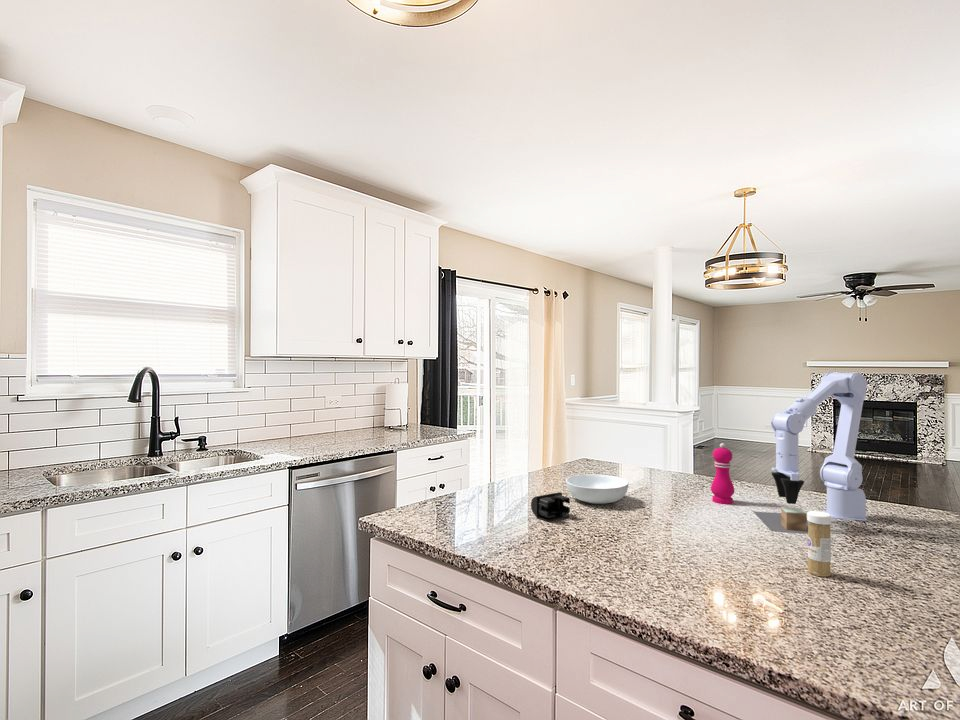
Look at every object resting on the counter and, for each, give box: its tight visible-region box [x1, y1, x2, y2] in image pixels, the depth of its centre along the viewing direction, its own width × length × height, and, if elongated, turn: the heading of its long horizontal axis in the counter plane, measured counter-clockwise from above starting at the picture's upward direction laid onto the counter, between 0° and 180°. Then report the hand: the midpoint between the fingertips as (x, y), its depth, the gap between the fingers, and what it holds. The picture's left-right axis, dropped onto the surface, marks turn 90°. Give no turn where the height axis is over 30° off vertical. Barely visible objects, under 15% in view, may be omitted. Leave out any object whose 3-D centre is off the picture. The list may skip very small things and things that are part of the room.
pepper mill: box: [710, 442, 735, 505], centre depth 177 cm, size 7×7×20 cm
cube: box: [780, 506, 808, 531], centre depth 149 cm, size 5×5×5 cm
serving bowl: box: [565, 473, 630, 505], centre depth 179 cm, size 21×21×7 cm
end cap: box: [530, 492, 571, 523], centre depth 160 cm, size 10×7×7 cm
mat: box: [752, 511, 808, 535], centre depth 154 cm, size 14×20×1 cm
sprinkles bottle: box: [806, 510, 832, 578], centre depth 117 cm, size 5×5×14 cm
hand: (787, 500), depth 155 cm, fingers open, 7 cm apart
